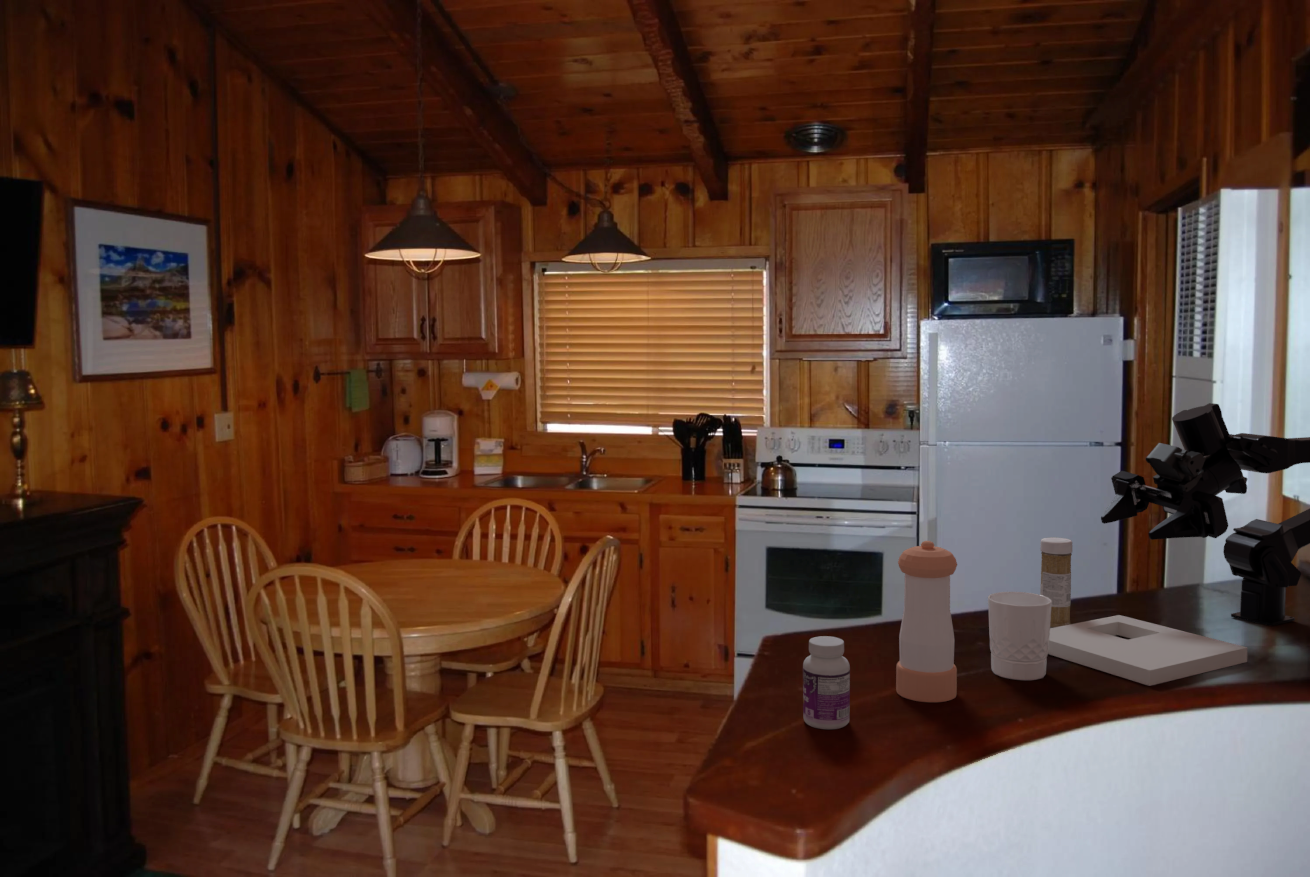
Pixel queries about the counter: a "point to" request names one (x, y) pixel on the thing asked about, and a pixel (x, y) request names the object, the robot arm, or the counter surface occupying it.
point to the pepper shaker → (927, 626)
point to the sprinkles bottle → (1057, 578)
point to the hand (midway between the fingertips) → (1125, 528)
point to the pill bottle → (826, 684)
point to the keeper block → (1141, 649)
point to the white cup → (1019, 634)
